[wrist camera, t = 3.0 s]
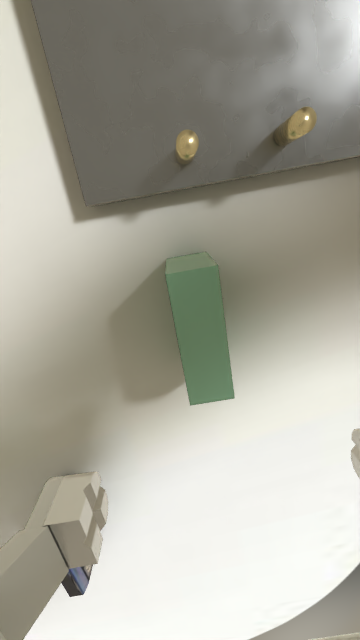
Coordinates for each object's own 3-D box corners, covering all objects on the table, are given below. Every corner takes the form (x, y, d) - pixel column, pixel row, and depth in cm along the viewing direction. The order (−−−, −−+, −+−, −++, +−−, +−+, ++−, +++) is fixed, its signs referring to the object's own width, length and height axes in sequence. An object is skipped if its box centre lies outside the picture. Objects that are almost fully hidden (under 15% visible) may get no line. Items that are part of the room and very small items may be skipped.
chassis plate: (400, -216, 14) (499, -399, 10) (378, 153, 20) (434, 136, 15) (5, -126, 15) (-61, -261, 11) (91, 206, 20) (71, 204, 16)
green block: (205, 251, 22) (217, 265, 16) (220, 356, 25) (234, 398, 19) (166, 258, 22) (165, 274, 16) (185, 362, 25) (190, 405, 19)
